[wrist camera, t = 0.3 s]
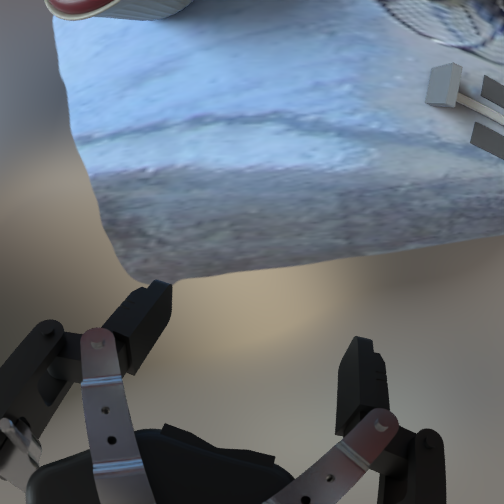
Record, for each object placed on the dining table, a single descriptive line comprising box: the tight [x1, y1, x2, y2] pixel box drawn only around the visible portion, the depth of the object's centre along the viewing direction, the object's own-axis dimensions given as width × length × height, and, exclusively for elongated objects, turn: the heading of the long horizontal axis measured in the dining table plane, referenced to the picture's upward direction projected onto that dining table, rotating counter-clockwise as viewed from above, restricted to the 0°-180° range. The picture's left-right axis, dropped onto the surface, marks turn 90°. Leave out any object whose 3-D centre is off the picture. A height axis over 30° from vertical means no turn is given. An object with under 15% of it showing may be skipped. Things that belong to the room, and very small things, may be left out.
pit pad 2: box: [470, 122, 504, 160], centre depth 32 cm, size 3×7×1 cm, turn 80°
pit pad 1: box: [481, 75, 504, 108], centre depth 28 cm, size 3×7×1 cm, turn 80°
